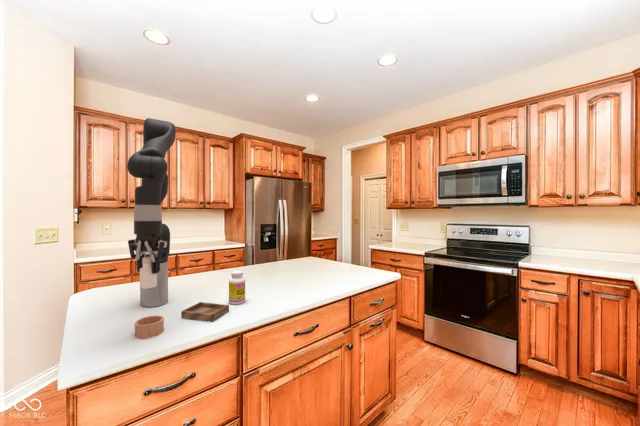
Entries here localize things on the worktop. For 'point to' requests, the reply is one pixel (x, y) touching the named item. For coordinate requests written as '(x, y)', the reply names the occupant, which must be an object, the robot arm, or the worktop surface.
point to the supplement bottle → (236, 288)
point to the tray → (205, 311)
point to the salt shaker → (147, 274)
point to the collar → (149, 326)
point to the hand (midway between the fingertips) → (148, 272)
